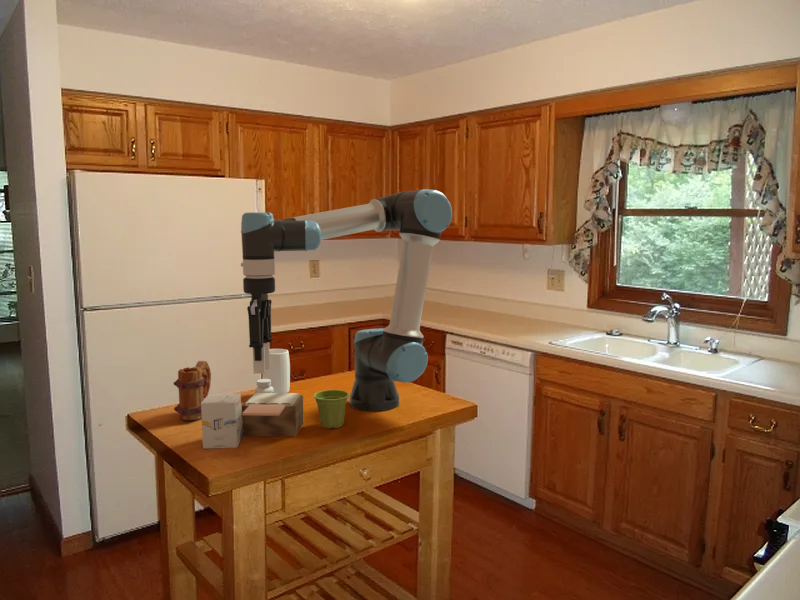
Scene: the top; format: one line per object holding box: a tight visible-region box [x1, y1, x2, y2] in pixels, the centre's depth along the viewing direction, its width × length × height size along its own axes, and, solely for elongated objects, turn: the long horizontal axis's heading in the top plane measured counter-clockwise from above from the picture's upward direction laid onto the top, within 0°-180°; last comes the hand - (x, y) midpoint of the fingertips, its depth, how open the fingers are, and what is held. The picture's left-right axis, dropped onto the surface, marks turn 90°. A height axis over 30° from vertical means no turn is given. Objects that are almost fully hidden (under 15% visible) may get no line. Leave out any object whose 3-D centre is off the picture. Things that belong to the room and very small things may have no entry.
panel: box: [241, 404, 285, 416], centre depth 154 cm, size 9×7×1 cm
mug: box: [173, 360, 212, 421], centre depth 176 cm, size 15×8×15 cm, turn 168°
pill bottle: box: [254, 378, 274, 394], centre depth 178 cm, size 6×5×10 cm
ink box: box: [201, 392, 243, 450], centre depth 154 cm, size 9×8×12 cm
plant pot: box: [313, 389, 350, 429], centre depth 167 cm, size 9×9×9 cm
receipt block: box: [241, 392, 305, 437], centre depth 164 cm, size 14×10×9 cm
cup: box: [262, 348, 291, 393], centre depth 197 cm, size 8×8×14 cm
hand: (261, 370), depth 152 cm, fingers open, 4 cm apart
